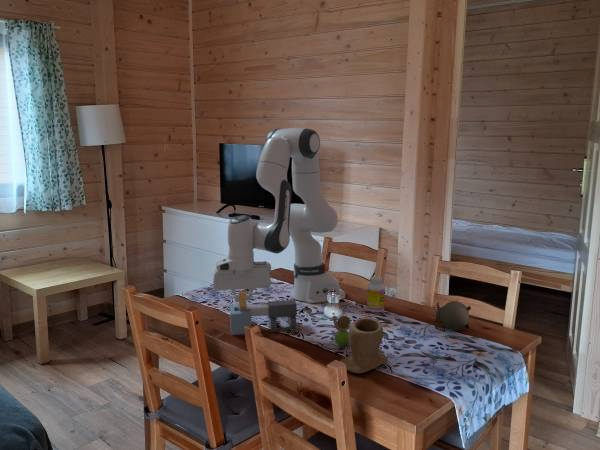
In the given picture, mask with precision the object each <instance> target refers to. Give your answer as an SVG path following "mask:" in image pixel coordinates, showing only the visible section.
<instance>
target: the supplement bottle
mask: <svg viewBox="0 0 600 450" xmlns="http://www.w3.org/2000/svg"><path fill="white" fill-rule="evenodd" d="M383 280H384V279H383V277H381V276H371V277H370V279H369V281H370V283H369V284H368V285H367V296H366V297H367V300H366V301H367V302H366V303H367V304H366V305H367V306H366V308H367V311H369V312H372V313H382V312H384V310H385V305H386V304H385V302H386V301H385V298H386V297H385V294H386V293H385V292H386V287H385V285H384V283H383Z"/></svg>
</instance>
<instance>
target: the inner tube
mask: <svg viewBox="0 0 600 450" xmlns="http://www.w3.org/2000/svg"><path fill="white" fill-rule="evenodd" d="M238 295H239V301H238V304H239V306H238V309H239V311H245V310H250V311H251V317H263V316H268V315H269V306H268V304H267V303H266V304H254V305H253V304H252V305H249V306H247V305H246V304H247V301H246V295H247V291H246V290H241V291H238Z"/></svg>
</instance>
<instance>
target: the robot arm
mask: <svg viewBox="0 0 600 450" xmlns="http://www.w3.org/2000/svg"><path fill="white" fill-rule="evenodd" d="M320 146H321V140H320V135H319V134H318V132H317V131H315V130H314V129H311V128H300V127H299V128H298V127H290V128H289V127H288V128H275V129H272V130H270V131H269V132H268V134H267V135H266V137H265V143H264V145H263V148H262V149H261V153H260V156H259V159H258V163H257V168H256V172H255V173H256V175H255V178H256V180H257V183H258V184H259V185H260V186H261V188H263V189H264V190H266V192H267V191H268V192H269V193H271V194H272V195H273V197H274V199H275V208H274V219H273V222H272V223H266V222H265V223H264V222H260V221H256V220H254V219H252V218H251V217H250V216H249V215H245V214H244V215H243V214H242V215H237V216H233V217H232V218H231V219H230V220H229V222H228V227H227V244H228V254H227V255H228V256H227V257H224V258H221V259H218V260H217V261H216V263H215V269H214V273H213V281H212V286H213V287H212V288H213V289H214V291H229V290H231V294H232V295H233V297H234V302H239V294H236V290H246V289H247V290H248V291H249V292H248V294H247V293H246V302H247V301H251V295H253V292H254V289H264V288H270V287H271V285H272V283H271V275H270V273H271V272H272V265H271V263H270V262H268V261H266V260H264V261H255V254H254V253H255V252H254V249H256V250H261V251H266V252H270V253H273V254H280V253H282V252H283V251H285V249H287V248H288V246H289V244H290V241H292V243H293V244H292V245H293V249H294V264H293V276H294V277H293V278H294V282H293V283H294V284H293V288H292V293H291V298H292V299H293V300H295V301H296V300H297V301H300V302H305V303H309V304H317V303H326V302H328V301H327V295H328V292H329V291H332V289H333V287H335V291H336V293H337V294H339V295H340V298H341V300H344V299H345V298H346V293H345V291H344V290H343V289H341V288H340V286H341V285H340V283H339V281H338V280H337V279H336V277H334V276H333V275H331V274H330V273H328V272H329V270H330V268H329V265H326V264H325V263H323V262H322V246H321V244H320V242H319V241H318V240H316V239H315V238H314V237H313V236H312V234H311V233H329V232H333V231H334V230H335V229H336V227H337V225H338V221H339V218H338V214H337V211H336V209H335V208H334V207H332V206H331V205H330V204H329V203H328V202H327V200H326V198H325V196H324V194H323V191H322V187H321V186H322V185H321V175H320V162H319V161H320V160H319V156H318V151H319V150H320ZM290 158H291V159H290ZM290 160H291V178H292V186H291V184H290V182H289V181H288V170H289V166H290ZM292 190H293V192H294V193H295V195H297V196H298V197H300V198H301V200H302V201H303V203H292ZM290 239H291V240H290Z"/></svg>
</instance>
